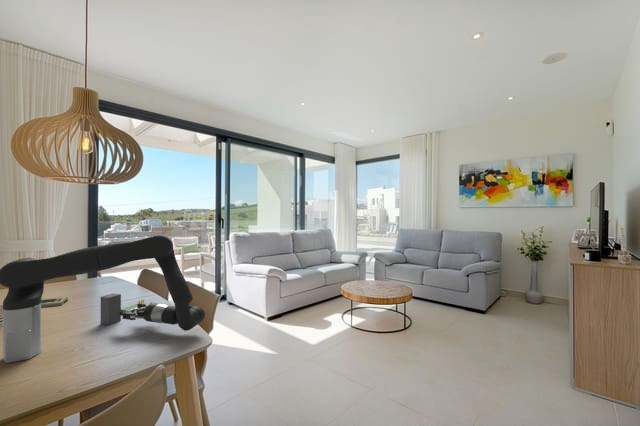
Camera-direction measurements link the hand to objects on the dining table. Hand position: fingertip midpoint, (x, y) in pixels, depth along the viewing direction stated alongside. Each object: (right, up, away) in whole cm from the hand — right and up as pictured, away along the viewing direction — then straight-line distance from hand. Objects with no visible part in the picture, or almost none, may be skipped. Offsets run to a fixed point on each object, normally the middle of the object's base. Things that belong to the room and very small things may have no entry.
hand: (129, 308), depth 127 cm
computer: (-59, -7, +25) cm, 65 cm away
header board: (-5, -7, +17) cm, 19 cm away
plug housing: (-10, -7, +3) cm, 13 cm away
